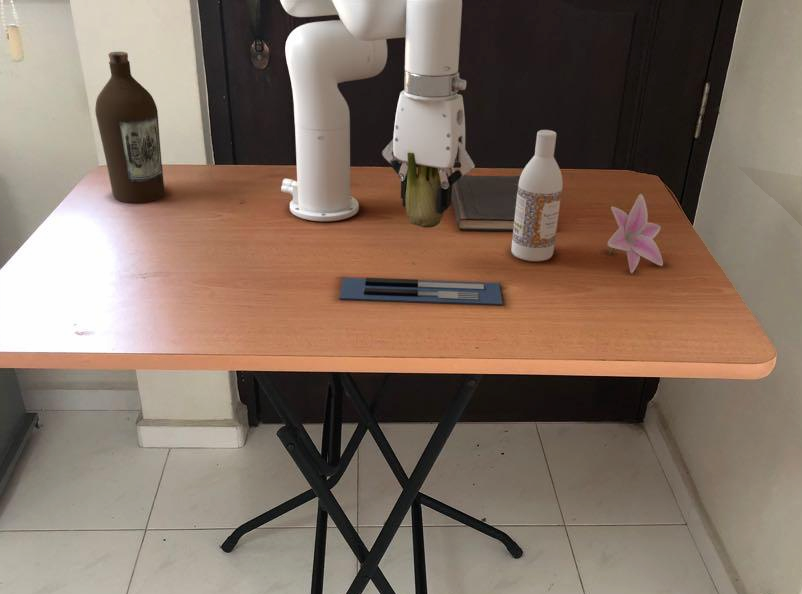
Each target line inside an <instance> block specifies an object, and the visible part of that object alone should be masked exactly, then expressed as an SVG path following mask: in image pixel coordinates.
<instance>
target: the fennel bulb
mask: <svg viewBox="0 0 802 594" xmlns="http://www.w3.org/2000/svg"><path fill="white" fill-rule="evenodd" d="M439 187H441V182H440V177H439V173H438V168H434V167H428V166H423V165H417V164H416V162H415V157H414V153H412V152H408V176H407V190H406V207H405V211H406V217H407V220H408V222H409V223H410V224H411V225H414V226H418V227H421V228H434V227H437V226H438V225H439V224H440V223H441V221H442V219H443V217H444V213H445V211H444V212H443V213H442V214H438V213H437V212H436V211H437V191H438V188H439Z"/></svg>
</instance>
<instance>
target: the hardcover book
mask: <svg viewBox="0 0 802 594" xmlns="http://www.w3.org/2000/svg"><path fill="white" fill-rule="evenodd" d="M520 176H521V175H519V176H518V175H516V176H515V175H469V174H465V175H464V176H462V177H461V178H460V179H459V180H457V181H456V182H455V183H454V184H453V185H452V199H451V202H452V206H453V210H454V215H455V219H456V225H457V228H458V230H459V231H461V232H512V233H513V228H514V219H515V210H516V201H517V192H518V184H519V179H520Z"/></svg>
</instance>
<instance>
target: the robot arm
mask: <svg viewBox="0 0 802 594" xmlns="http://www.w3.org/2000/svg"><path fill="white" fill-rule="evenodd" d="M279 1H280V4H281V6H282V8H283V9H284V11H285V12H286V13H287V14H288V15H290V16H292V17H296V18H310V17H312V18H313V17H323V16H336V15H337V16H338V17H339V19H337V20H336V19H335V20H334V19H333V20H324V21H314V22H307V23H304V24H302V25H301V24H300V25H298V26H297V27H296V28H295V29H293V30H292V31H291V32H290V34H289V35H288V36H287V39H286V41H285V59H286V64H287V69H288V73H289V78H290V83H291V90H292V98H293V99H292V101H293V115H294V131H295V132H294V133H295V135H294V136H295V158H296V180H294V179H290V178H283V180H282V183H281V187H280V193H282V194H288V195H291V196H292V199H291V201H290V202H289V211H290V212H291V214H292V215H294V216H296V217H298V218H300V219H302V220H307V221H312V222H337V221H342V220H346V219H349V218H351V217H354V216H355V215H356V214H358V212H359V210H360V203H359V201H358V200H357V199H356V198H354V197H353V196H351V115H350V108H349V105H348V102H347V101H346V99H345V97H344V96H343V94H342V93H341V91H340V90H339V86H338V84H340V83H341V84H342V83H344V82H351V81H358V80H364V79H369V78H373V77H376V76H378V75H379V74H381V72H382V71H383V70H384V69H385V66H386V64H387V59H388V43H387V40H390V39H402V38H405V46H404V47H405V48H404V51H405V52H404V82H403V83H404V84H403V86H404V87H403V90H402V91H400V92H399V98H398V101H397V107H396V112H395V120H394V127H393V129H394V130H393V138H392V140H391V141H390V142H389V143H388V144H387V145H386V147H384V149H383V150H382V151H381V154H382V157H383V158H384V159H385V160H386V161H387V162H388V164H390V166H391V168H392V169H393V171H394V172H395V173H396V175H397V178H398V180H399V181H400V199H401V200H402V203H401V205H402V207H404V208H406V190H407V176H408V152H412V153H414V157H415V162H416V164H417V166H418V165H423V166H428V167H434V168H438V173H439V177H440V182H441V187H439V188H438V191H437V211H436V212H437V213H438V214H442V213H443V212H444V213H445V212H446V211H447V210H449V208H450V207H451V205H452V185H453V184H454V183H455V182H456V181H457V180H459V179H460V178H461V177H462V176H464V175H468V174H469V173H470V172H472V171H473V170H474V169H475V168H476V166H475V163H474V162H473V160H472V158H471V156H470V154H469V153H468V151H467V150H466V116H465V105H464V97H463V95H462V94H459V93H458V92H459V91H465V90H466V89H467V80H466V79H462V78H460V72H459V62H460V45H461V30H462V29H461V28H462V13H463V12H462V11H463V9H462V8H463V0H279ZM455 163H460V167H459V168H458V169H456V170H455V169H454V166H455Z"/></svg>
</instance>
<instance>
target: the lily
mask: <svg viewBox="0 0 802 594" xmlns="http://www.w3.org/2000/svg"><path fill="white" fill-rule="evenodd" d="M610 209H611V212H612V214H613V217H614V219H615V221H616V223H617V226H618V228H617V230H616V231H615V232H614V233H613V234H612V236H610V238H609V239H608V241H607V246H608V247H610V248H611V249H610V250H609V252H608V254H612V252H613V251H614V250H615V249H617V250H621V251H625V252H626V257H627V263H628V267H629V272H630V274H633V273H634V272H635V270H636V268H637V267H638V265H639V263H640V260H641V257H642V258H644V259H646V260H648V261H650V262H652V263H653V264H655V265H657V266H660V267H663V265H664V262H663V257H662V254H661V251H660V249H659V247H658V245H657V242H655V240H654V239H655V237H656V236H657V235H658V234H659V233H660V231H661V228H662V227H661V225H659V224H657V223H654V222H650V221H648V219H649V215H648V214H649V213H648V207H647V203H646V199H645V198H644V195H643V194H642V193H640V194H639V195H638V196H637V198H636V200H635V202H634V204H633V206H632V208H631V209H630V211H629V213H628V214H627V213H626V212H625V211H624V210H622V209H620V208H618V207H616V206H611V207H610Z"/></svg>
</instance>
